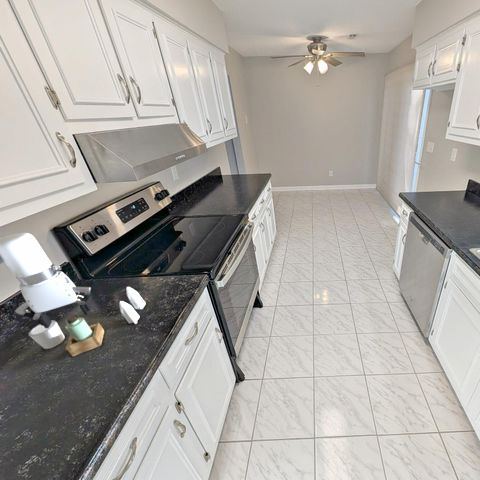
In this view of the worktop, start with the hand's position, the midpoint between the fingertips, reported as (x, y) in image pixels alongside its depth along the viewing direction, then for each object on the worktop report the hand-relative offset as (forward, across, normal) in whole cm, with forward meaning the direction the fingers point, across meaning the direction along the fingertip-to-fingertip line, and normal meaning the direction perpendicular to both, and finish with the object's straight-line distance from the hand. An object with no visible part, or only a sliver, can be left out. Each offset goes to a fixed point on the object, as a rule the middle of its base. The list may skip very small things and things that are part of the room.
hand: (69, 318), depth 80 cm
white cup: (+12, +10, -8) cm, 18 cm away
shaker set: (+12, -15, -7) cm, 20 cm away
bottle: (+11, -1, 0) cm, 11 cm away
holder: (+12, -1, 0) cm, 12 cm away
